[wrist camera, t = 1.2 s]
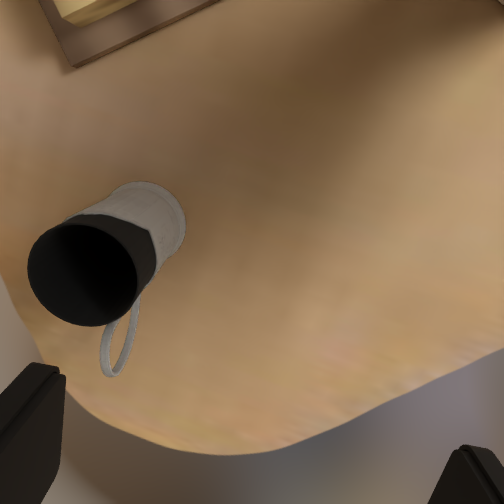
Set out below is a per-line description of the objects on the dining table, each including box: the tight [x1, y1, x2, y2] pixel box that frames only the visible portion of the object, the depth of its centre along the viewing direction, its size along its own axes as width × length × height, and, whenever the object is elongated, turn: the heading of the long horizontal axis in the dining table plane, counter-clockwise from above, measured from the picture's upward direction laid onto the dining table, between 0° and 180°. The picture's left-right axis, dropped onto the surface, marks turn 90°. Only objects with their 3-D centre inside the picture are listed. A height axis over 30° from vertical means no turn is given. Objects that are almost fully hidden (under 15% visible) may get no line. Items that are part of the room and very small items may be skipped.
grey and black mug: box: [27, 181, 186, 377], centre depth 34 cm, size 9×14×15 cm, turn 1°
